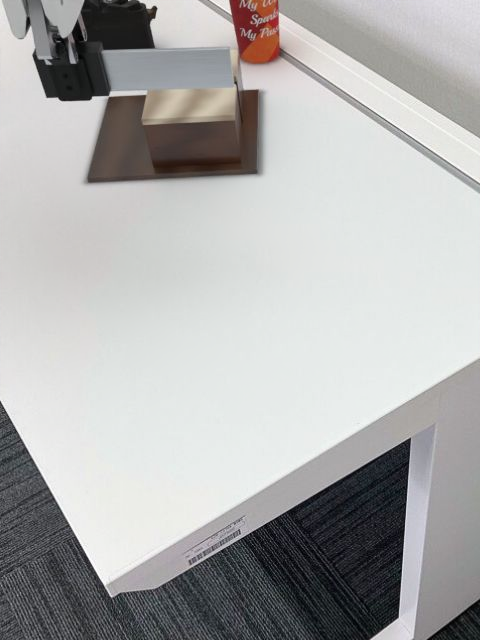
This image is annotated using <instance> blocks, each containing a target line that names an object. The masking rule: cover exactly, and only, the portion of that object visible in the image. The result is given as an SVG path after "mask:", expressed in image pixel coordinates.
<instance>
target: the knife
mask: <svg viewBox="0 0 480 640" xmlns="http://www.w3.org/2000/svg"><path fill="white" fill-rule="evenodd" d="M62 44H63V45H64V46H65V43H62ZM75 47H76V50H77V54H78V59H83V61H84V65H85V68H86V72H87V75H88V79H89V82H90V86H91V89H92V93H93V97H92V98H95V97H110V94H111V92H138V91H140V92H141V91H147V90H173V89H204V88H234V77H233V70H232V62H231V54H230V50H231V48H230V46H199V47H198V46H197V47H194V46H193V47H165V48H164V47H163V48H155V49H127V50H103V46H102V42H76V43H75ZM31 56H32V59H33V62H34V65H35V68H36V72H37V73H38V78H39V80H40V83H41V86H42V89H43V92H44V95H45V98H46V99H58V96H57V93H56V90H55V87H54V84H53V81H52V78H51V74H50V71H49V68H48V65H46V63H45V60H44V59H38V57H37V54H36V49H35V48H34V49H33V51H32V55H31Z"/></svg>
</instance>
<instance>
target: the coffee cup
mask: <svg viewBox="0 0 480 640" xmlns="http://www.w3.org/2000/svg"><path fill="white" fill-rule="evenodd" d="M228 3H229V8H230V14H231V18H232V22H233V28H234V33H235V38H236V43H237V44H236V45H237V48H238V52H239V58H241V60H243V61H244V62H246V63H250V64H266V63H270V62H272V61H275V60H276V59H278V57H279V56H280V52H281V51H280V49H281V48H280V46H281V45H280V10H279V0H228Z"/></svg>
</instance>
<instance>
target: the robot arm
mask: <svg viewBox="0 0 480 640" xmlns="http://www.w3.org/2000/svg"><path fill="white" fill-rule="evenodd" d="M1 3H2V6H3V9H4V12H5V13H4V14H5V16H6V19H7V22H8V25H9V29H10V31H11V34H12V35H13V37H15V39H17V40H24V39H26V37H27V35H28V32H29V31H30V29H31V32H32V38H33V43H34V50H35V49H36V54H37V57H38V59H44V60H45V63H46V65H48V68H49V71H50V74H51V78H52V81H53V84H54V87H55V90H56V93H57V96H58V98H57V99H58V100H59V101H60V102H88V101H89V102H90V101H92V99H93V98H94V97H93V93H92V89H91V86H90V82H89V79H88V75H87V72H86V68H85V65H84V61H83V59H78V54H77V50H76V47H75V43H76V42H82V41H87V34H86V30H85V26H84V23H83V19H82V16H81V12H80V11H81V8H82V6H83V3H84V0H1ZM50 26H51V27H50ZM53 39H55V40H56V42H61V43H54V42H53ZM62 43H65V46H64V45H63V44H62Z"/></svg>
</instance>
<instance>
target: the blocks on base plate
mask: <svg viewBox="0 0 480 640" xmlns="http://www.w3.org/2000/svg"><path fill="white" fill-rule="evenodd" d="M230 54H231V62H232V70H233V77H234V88H204V89H173V90H146V94H135V95H119V96H118V95H116V96H115V95H114V96H108V99H107V102H106V106H105V109H104V114H103V117H102V120H101V123H100V127H99V132H98V135H97V140H96V144H95V147H94V151H93V155H92V159H91V163H90V165H89V166H90V167H89V169H88V173H87V178H86V179H87V182H88V183H98V182H99V183H101V182H102V183H105V182H122V181H123V182H124V181H141V180H142V181H143V180H159V179H160V180H161V179H179V178H181V179H182V178H197V177H199V178H200V177H215V176H216V177H219V176H234V175H254V174H258V173H259V171H258V170H259V128H260V123H259V122H260V89H257V88H256V89H244V83H243V82H244V81H243V76H242V68H241V67H242V66H241V59H240V53H239V48H238V49H230Z"/></svg>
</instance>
